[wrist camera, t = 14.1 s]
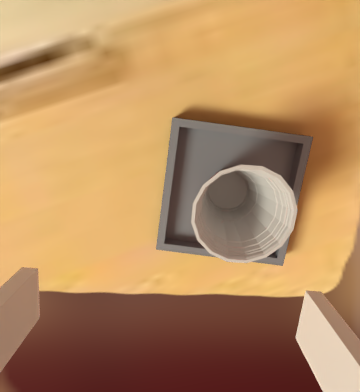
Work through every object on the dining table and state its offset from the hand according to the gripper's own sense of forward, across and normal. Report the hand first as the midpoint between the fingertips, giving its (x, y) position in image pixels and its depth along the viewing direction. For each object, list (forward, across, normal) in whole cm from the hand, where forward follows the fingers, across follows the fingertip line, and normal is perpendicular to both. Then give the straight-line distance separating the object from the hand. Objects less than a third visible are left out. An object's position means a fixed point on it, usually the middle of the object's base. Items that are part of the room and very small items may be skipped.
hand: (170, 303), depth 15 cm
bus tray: (+28, +7, -1) cm, 29 cm away
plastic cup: (+28, +7, 0) cm, 29 cm away
